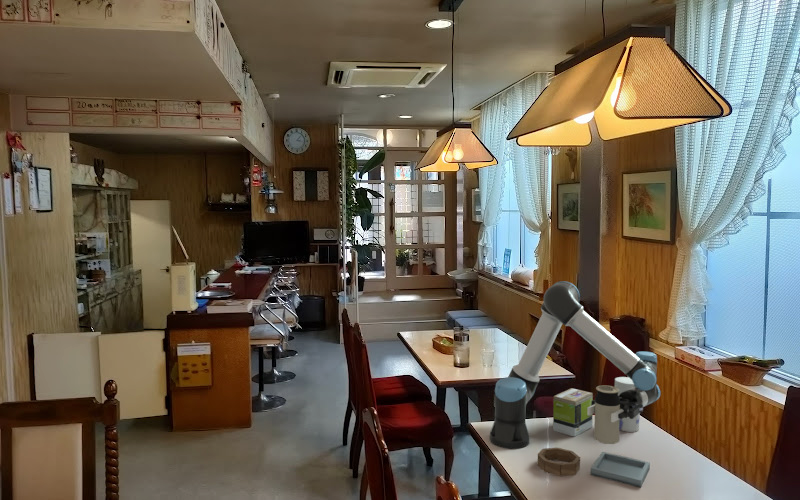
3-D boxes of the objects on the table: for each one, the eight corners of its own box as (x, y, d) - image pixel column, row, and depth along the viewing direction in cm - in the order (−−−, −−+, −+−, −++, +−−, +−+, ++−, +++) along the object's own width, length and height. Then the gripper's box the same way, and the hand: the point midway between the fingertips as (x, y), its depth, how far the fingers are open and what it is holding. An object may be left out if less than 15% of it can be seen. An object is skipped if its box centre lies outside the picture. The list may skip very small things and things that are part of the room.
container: (641, 433, 234) (643, 384, 232) (615, 431, 236) (617, 382, 234) (636, 424, 243) (638, 377, 242) (611, 422, 245) (613, 375, 244)
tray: (590, 475, 196) (590, 468, 196) (602, 458, 210) (602, 451, 210) (640, 487, 188) (641, 480, 187) (649, 469, 201) (649, 462, 201)
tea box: (570, 421, 246) (571, 387, 245) (592, 427, 239) (594, 392, 238) (552, 430, 236) (553, 394, 235) (574, 437, 228) (575, 400, 227)
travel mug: (596, 443, 195) (597, 391, 194) (592, 434, 203) (593, 384, 201) (621, 445, 193) (622, 392, 192) (616, 436, 201) (617, 385, 200)
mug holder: (533, 469, 200) (533, 458, 200) (546, 455, 211) (546, 444, 211) (572, 479, 193) (572, 467, 193) (583, 464, 204) (583, 453, 204)
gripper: (660, 417, 202) (629, 434, 187) (605, 403, 217) (572, 417, 202) (661, 396, 201) (630, 411, 186) (606, 383, 217) (572, 396, 202)
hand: (600, 414), depth 194 cm, fingers closed on travel mug, 8 cm apart
